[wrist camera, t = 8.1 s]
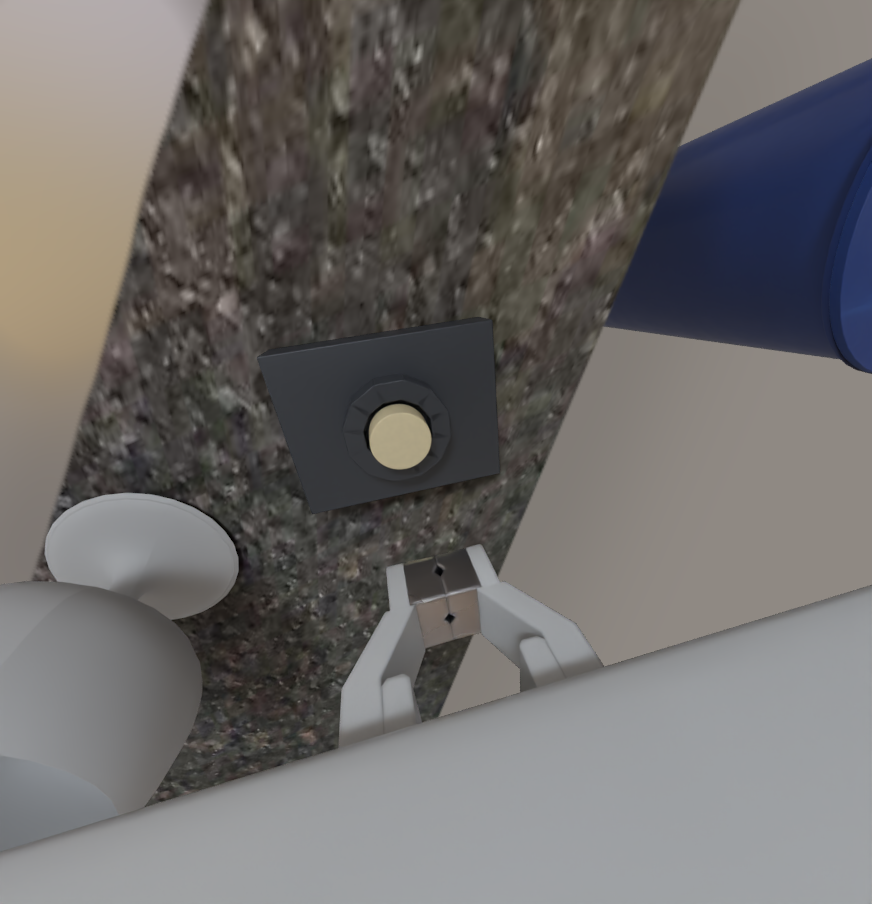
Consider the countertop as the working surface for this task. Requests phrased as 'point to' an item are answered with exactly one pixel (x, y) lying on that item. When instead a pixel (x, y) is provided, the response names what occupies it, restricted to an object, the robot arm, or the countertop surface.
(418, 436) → the push button switch
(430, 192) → the countertop surface
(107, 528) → the chalice
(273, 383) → the push button plate
